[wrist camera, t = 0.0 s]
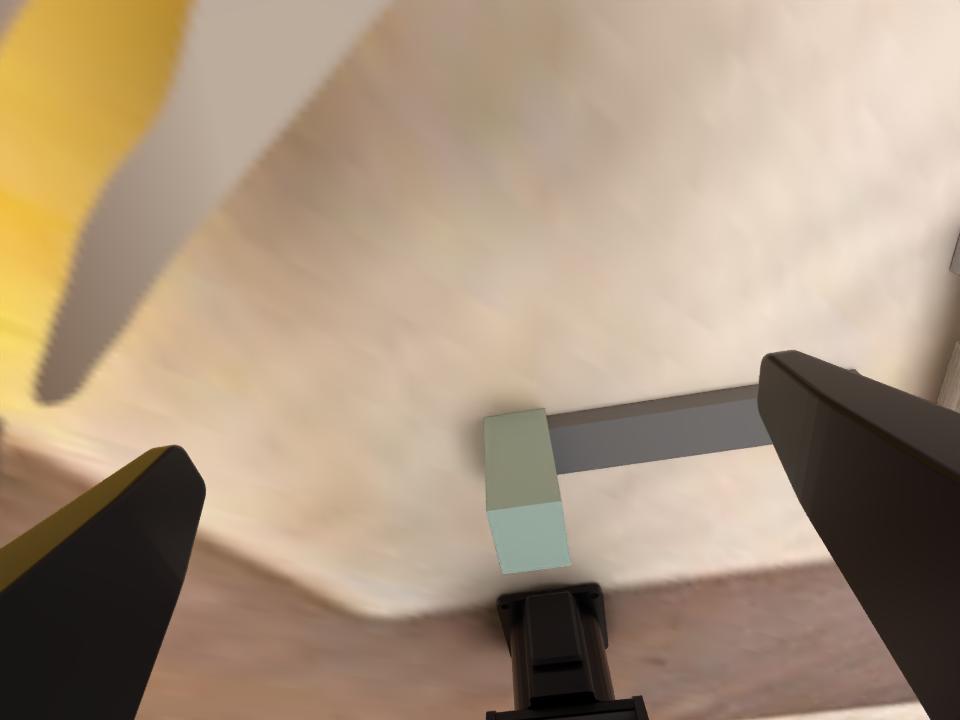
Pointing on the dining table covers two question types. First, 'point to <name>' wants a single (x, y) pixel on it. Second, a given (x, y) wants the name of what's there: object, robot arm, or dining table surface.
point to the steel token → (951, 382)
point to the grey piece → (595, 459)
